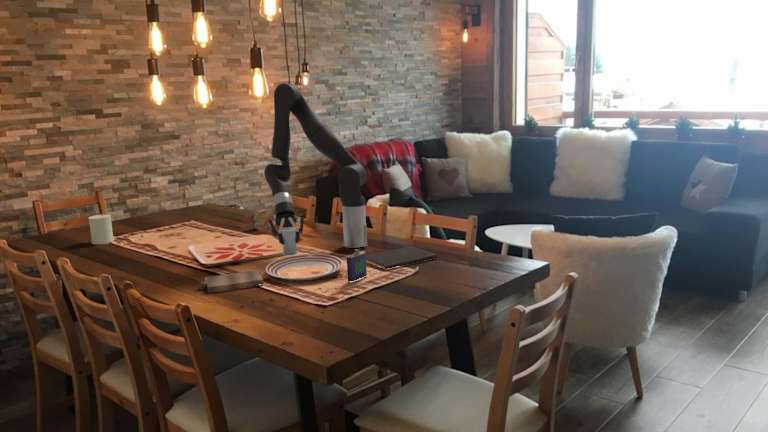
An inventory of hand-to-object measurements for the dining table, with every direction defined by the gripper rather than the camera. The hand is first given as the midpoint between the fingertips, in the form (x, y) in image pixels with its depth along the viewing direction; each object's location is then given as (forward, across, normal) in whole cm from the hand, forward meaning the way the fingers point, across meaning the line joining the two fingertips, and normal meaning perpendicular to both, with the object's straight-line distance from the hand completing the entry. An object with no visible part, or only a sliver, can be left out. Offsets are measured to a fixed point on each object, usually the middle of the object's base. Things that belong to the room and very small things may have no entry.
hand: (290, 242), depth 247 cm
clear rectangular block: (-38, -4, +48) cm, 61 cm away
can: (-40, -75, +48) cm, 98 cm away
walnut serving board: (+21, -24, -11) cm, 34 cm away
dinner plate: (+19, +2, -8) cm, 20 cm away
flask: (+29, +18, -19) cm, 39 cm away
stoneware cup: (+2, 0, +5) cm, 5 cm away
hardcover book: (+18, +38, -6) cm, 42 cm away
